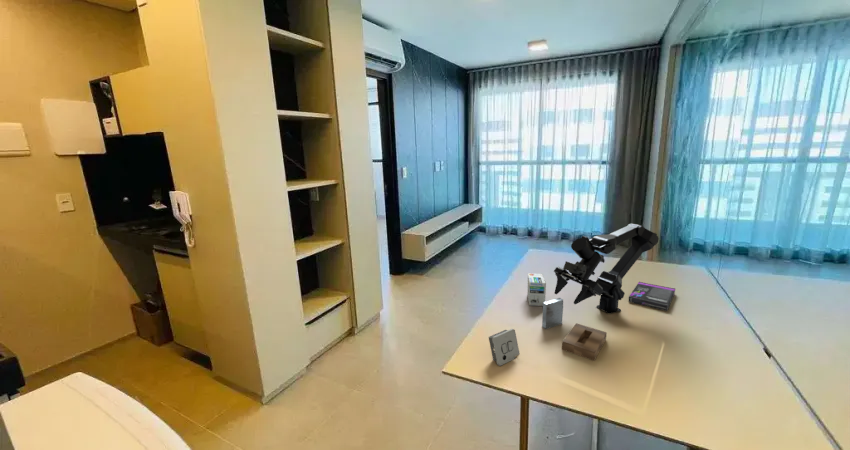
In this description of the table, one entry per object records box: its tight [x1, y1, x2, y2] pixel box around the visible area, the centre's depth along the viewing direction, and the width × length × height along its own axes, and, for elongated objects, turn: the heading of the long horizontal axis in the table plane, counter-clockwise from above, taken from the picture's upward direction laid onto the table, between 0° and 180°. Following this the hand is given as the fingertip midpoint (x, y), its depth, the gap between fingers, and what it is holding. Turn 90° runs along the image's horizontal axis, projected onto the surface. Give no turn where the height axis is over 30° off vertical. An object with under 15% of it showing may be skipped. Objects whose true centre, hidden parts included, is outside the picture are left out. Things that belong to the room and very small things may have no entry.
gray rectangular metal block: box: [541, 297, 564, 330], centre depth 124 cm, size 8×2×11 cm, turn 114°
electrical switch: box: [488, 328, 520, 366], centre depth 109 cm, size 9×5×9 cm, turn 121°
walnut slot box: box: [561, 323, 608, 361], centre depth 113 cm, size 14×10×4 cm
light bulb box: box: [526, 272, 547, 307], centre depth 146 cm, size 11×7×11 cm, turn 168°
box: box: [628, 281, 676, 312], centre depth 144 cm, size 14×4×20 cm
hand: (564, 298), depth 125 cm, fingers open, 9 cm apart
